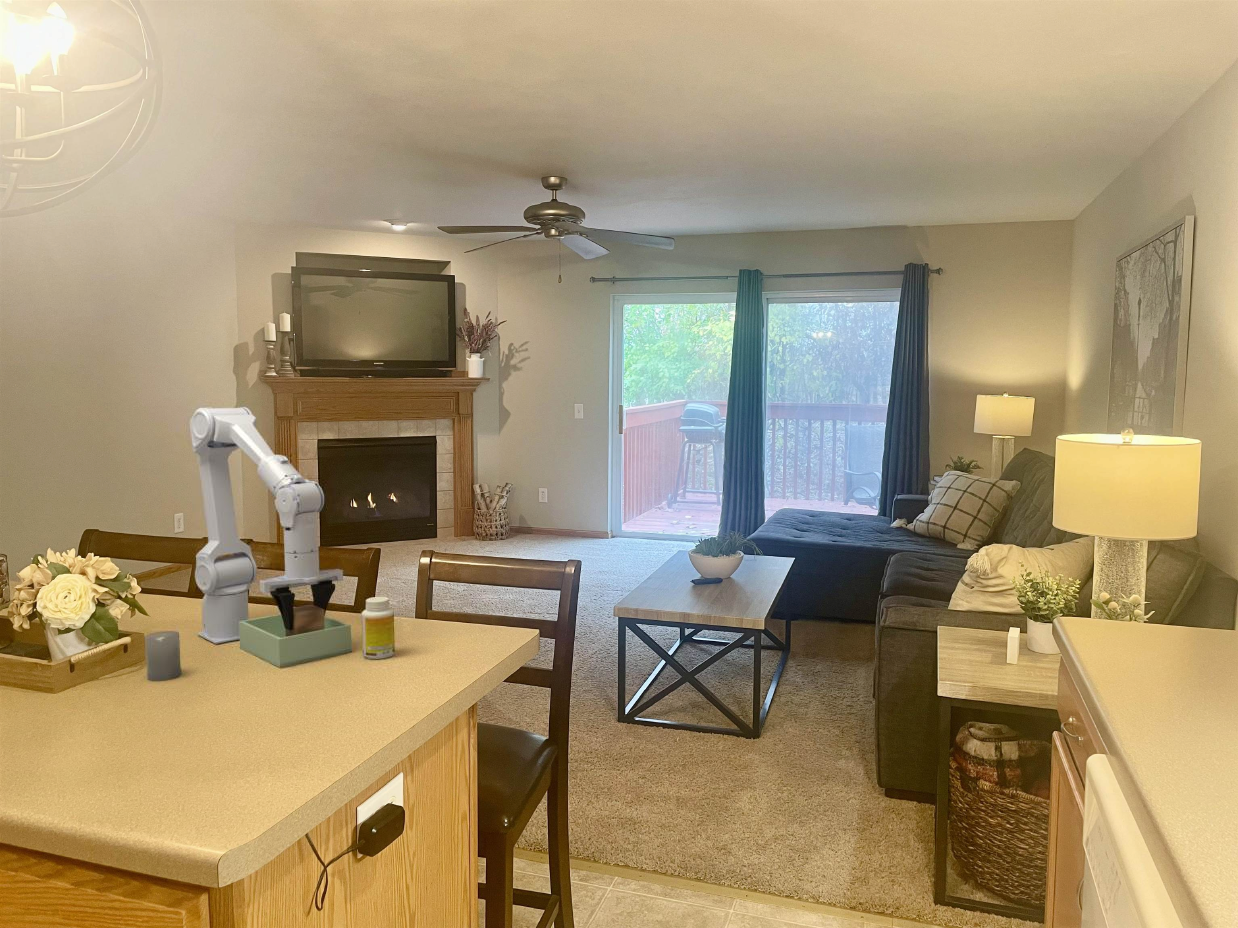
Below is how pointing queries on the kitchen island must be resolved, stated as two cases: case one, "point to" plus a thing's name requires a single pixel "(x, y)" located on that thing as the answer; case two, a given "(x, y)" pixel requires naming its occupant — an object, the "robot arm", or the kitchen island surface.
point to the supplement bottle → (378, 629)
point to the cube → (307, 620)
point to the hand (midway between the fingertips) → (304, 626)
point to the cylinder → (163, 655)
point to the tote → (293, 641)
